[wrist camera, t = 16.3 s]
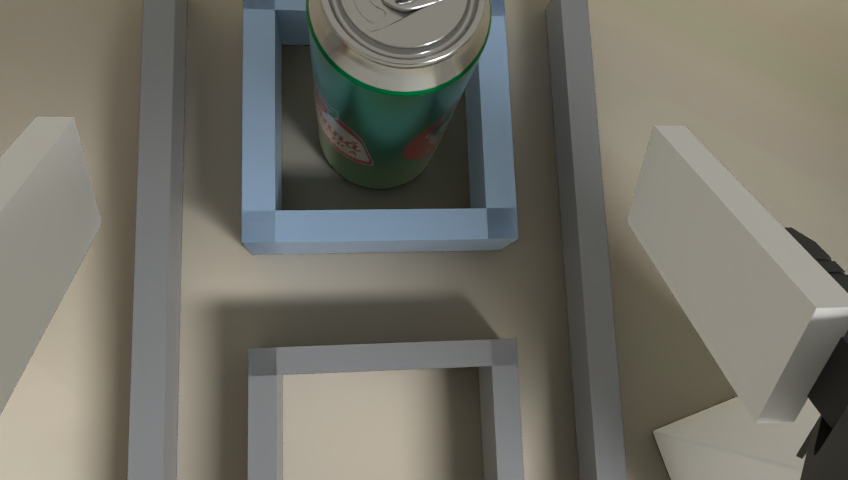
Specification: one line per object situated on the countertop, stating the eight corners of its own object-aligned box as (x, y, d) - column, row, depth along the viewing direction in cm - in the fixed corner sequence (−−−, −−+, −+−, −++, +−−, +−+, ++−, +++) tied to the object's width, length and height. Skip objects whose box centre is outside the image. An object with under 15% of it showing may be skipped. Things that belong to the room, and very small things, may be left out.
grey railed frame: (570, 10, 31) (595, -26, 28) (617, 612, 26) (652, 644, 24) (157, -2, 28) (136, -43, 25) (138, 657, 24) (110, 699, 21)
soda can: (301, 101, 28) (274, -75, 17) (410, 65, 29) (457, -126, 17) (344, 208, 28) (346, 106, 16) (453, 169, 29) (531, 43, 17)
